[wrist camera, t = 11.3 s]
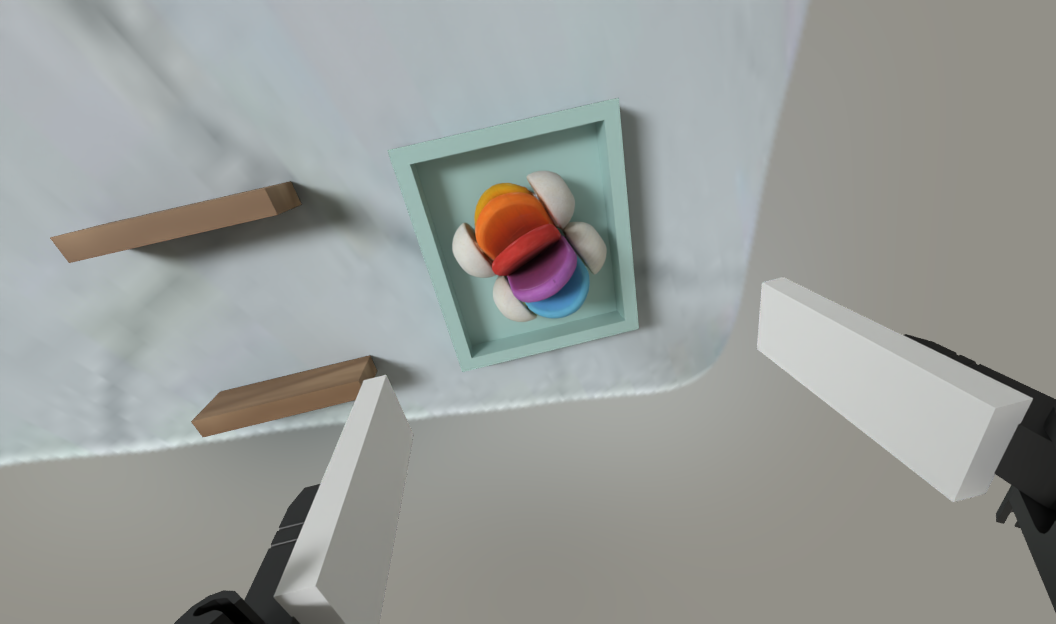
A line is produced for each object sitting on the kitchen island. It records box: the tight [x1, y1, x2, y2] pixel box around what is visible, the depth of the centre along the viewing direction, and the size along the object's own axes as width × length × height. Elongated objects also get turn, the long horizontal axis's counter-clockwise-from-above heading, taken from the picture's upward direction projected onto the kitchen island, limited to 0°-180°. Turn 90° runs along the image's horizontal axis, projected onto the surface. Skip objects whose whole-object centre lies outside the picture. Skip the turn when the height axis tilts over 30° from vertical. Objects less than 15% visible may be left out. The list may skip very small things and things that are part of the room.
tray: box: [387, 98, 639, 372], centre depth 28 cm, size 16×14×2 cm
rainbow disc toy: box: [452, 171, 607, 322], centre depth 25 cm, size 8×10×7 cm
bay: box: [50, 181, 377, 437], centre depth 27 cm, size 15×12×4 cm
